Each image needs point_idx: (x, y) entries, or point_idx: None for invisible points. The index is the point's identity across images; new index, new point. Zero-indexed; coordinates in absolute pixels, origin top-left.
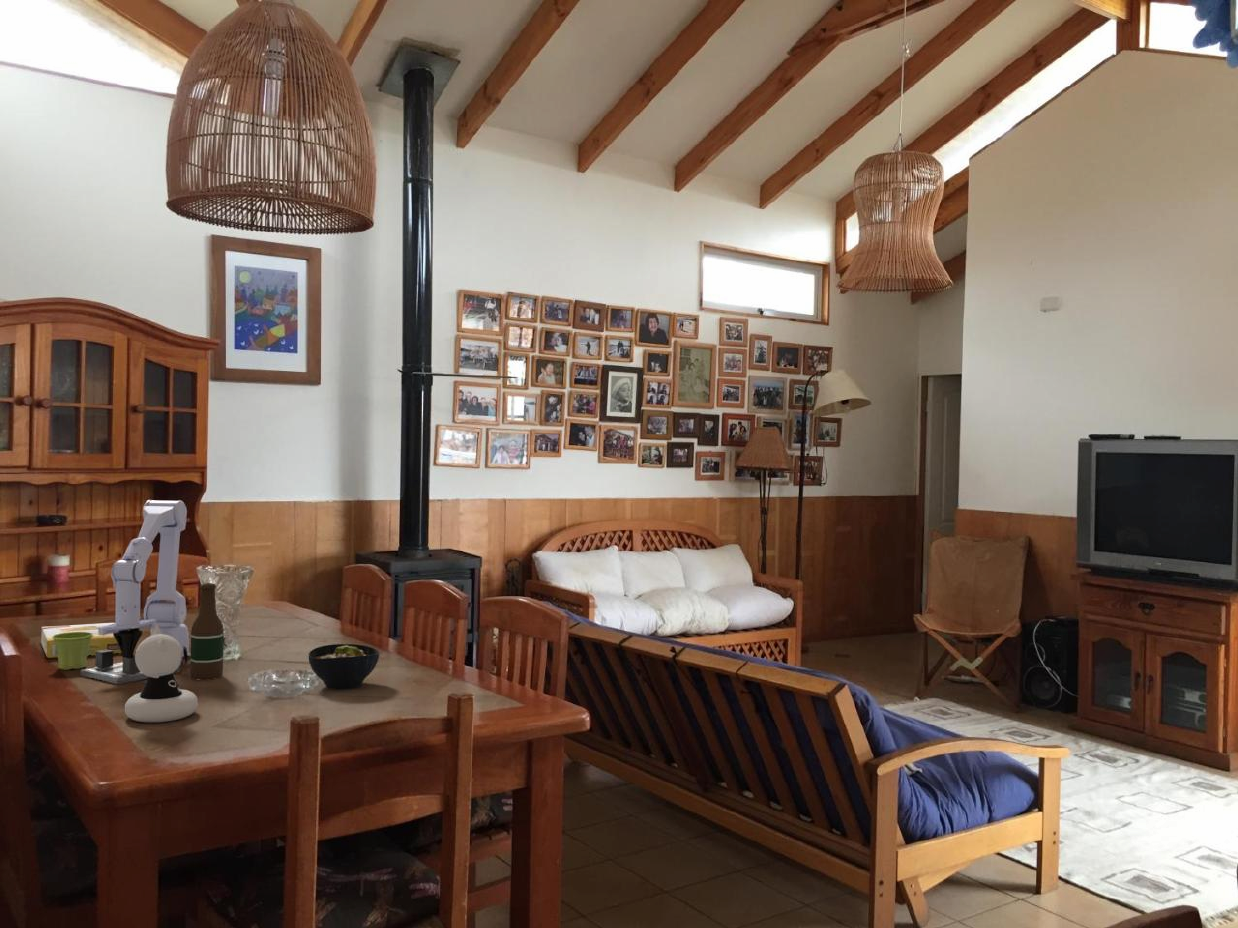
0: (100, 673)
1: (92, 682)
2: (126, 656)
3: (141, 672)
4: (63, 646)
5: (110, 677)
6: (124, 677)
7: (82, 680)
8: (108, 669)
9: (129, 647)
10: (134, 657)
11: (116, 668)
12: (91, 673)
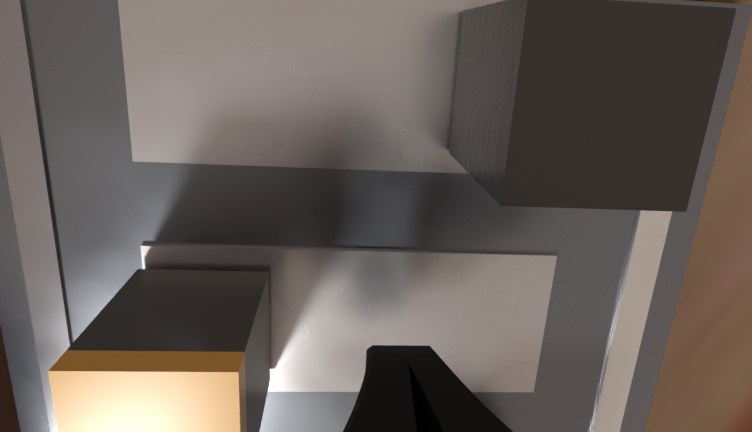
0: (646, 333)
1: (724, 261)
2: (632, 199)
3: (434, 32)
4: None
5: (716, 131)
6: (664, 2)
7: (699, 378)
8: None
9: (463, 429)
10: (638, 15)
11: None
12: (641, 417)
